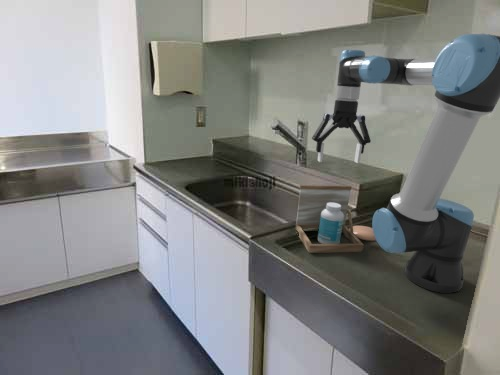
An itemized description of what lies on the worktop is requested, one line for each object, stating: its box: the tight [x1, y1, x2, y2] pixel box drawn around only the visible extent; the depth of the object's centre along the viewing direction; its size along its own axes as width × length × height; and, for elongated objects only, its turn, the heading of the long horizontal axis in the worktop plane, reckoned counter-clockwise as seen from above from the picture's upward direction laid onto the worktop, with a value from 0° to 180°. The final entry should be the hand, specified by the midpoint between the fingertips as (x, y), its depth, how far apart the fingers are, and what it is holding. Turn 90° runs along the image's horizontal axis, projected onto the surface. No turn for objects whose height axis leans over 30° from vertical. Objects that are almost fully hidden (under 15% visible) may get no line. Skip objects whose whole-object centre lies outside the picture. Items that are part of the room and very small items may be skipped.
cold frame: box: [295, 184, 365, 254], centre depth 121 cm, size 16×19×17 cm
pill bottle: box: [317, 202, 344, 244], centre depth 121 cm, size 8×7×14 cm
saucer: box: [348, 225, 376, 242], centre depth 131 cm, size 11×11×1 cm
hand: (338, 162), depth 128 cm, fingers open, 13 cm apart
